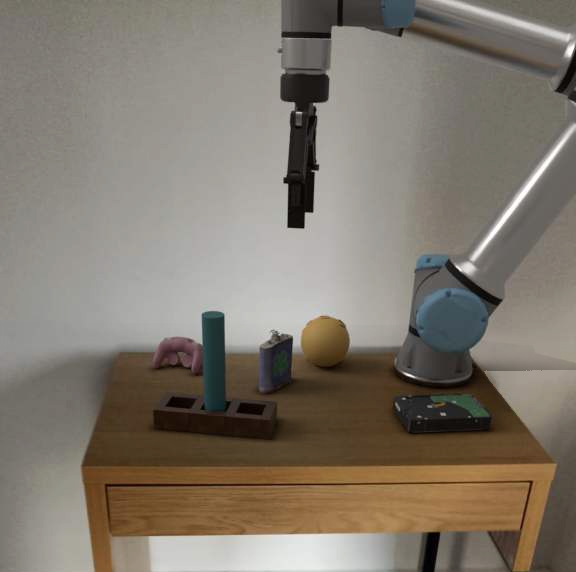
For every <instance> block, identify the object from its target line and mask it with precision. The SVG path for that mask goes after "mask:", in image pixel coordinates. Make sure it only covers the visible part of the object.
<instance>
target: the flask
mask: <svg viewBox="0 0 576 572" xmlns="http://www.w3.org/2000/svg"><path fill="white" fill-rule="evenodd" d="M269 334H271V336H270V339H268V340H266V341H264V342H263V343H261V344H260V345H259V374H258V375H259V376H258V391H259V392H258V393H260V394H265V395H266V394H268V393H273V392H274V391H275V390H278V389H280V388H281V387H282V386H284V385H285V384H288V383H291V382H292V365H293V348H294V347H293V346H294V336H293V335H292V334H288V333H281V334H280V332H279V331H278V330H276V329H271V330H270V331H269Z"/></svg>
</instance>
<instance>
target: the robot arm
mask: <svg viewBox="0 0 576 572" xmlns="http://www.w3.org/2000/svg"><path fill="white" fill-rule="evenodd" d="M280 1H281V2H280V14H281V15H280V32H281V33H280V38H281V42H280V44H281V45H278V46H277V48H276V52H277V54H281V56H280V68H281V70H284V73H281V76H280V78H279V79H280V80H279V81H280V82H279V85H280V87H279V98H280V100H281V101H282V102H285V103H294V110H291V111H290V113H289V114H290V115H289V127H290V130H289V140H288V141H289V142H288V155H287V156H288V157H287V158H288V159H287V167H286V175H285V176H283V180H282V182H283V184H284V185H287V223H286V224H287V225H286V228H287V229H301V230H305V227H306V225H305V224H306V213H308V214H313V213H314V209H315V208H314V207H315V181H316V178H315V177H316V172H319V171H320V164H319V163H317V162H318V160H317V140H316V139H317V128H318V127H317V126H318V115H317V110H318V109H317V106H316V105H314V104H324V103H327V102H328V101H329V99H330V76H329V74H327V71H330V69H331V65H332V45H333V44H332V42H333V41H332V40H333V39H332V29H333V27H339V28H341V27H342V28H343V27H352V28H364V29H366V30H369V31H374V32H380V33H383V34H387V35H390V36H393V37H398V38H401V39H405V40H408V41H411V42H414V43H418V44H421V45H425V46H428V47H431V48H435V49H438V50H440V51H443V52H447V53H451V54H454V55H457V56H460V57H464V58H468V59H471V60H474V61H477V62H481V63H484V64H487V65H491V66H494V67H497V68H500V69H504V70H507V71H510V72H513V73H517V74H520V75H523V76H527V77H530V78H533V79H537V80H540V81H544V82H546V83H547V85H548V87H549V90H550V91H551V92H554V93H558V94H561V95H563V96H566V97H567V98H566V99H565V102H564V106H565V115H564V118H563V120H562V121H561V123H560V124H559V125H558V126H557V128H556V129H555V130H554V132H553V133H552V134H551V136H550V137H549V138H548V140H547V141H546V143H545V144H544V145H543V146H542V148H541V150H539V152H538V153H537V154H536V156H535V157H534V159H533V160H532V161H531V163H530V164H529V165H528V167H527V168H526V169H525V170H524V172H523V173H522V175H521V176H520V178H519V179H518V180H517V182H516V183H515V184H514V185H513V187H512V188H511V190H510V191H509V192H508V194H507V195H506V196H505V197H504V199H503V200H502V202H501V203H500V204H499V206H498V207H497V208H496V209H495V211H494V212H493V214H491V216H490V218H489V219H488V220H487V221H486V223H485V224H484V226H483V227H482V228H481V229H480V231H479V232H478V234H477V235H476V236H475V237H474V238H473V240H472V242H471V243H470V244H469V245H468V247H467V248H466V250H465V251H463V252H462V253H457V254H447V253H446V254H445V253H427V254H422V255H420V256H419V257H418V258H417V260H416V263H415V268H414V270H413V273H414V279H413V280H414V281H413V287H412V295H411V296H412V297H411V303H410V311H409V321H408V330H407V334H406V337H405V339H404V341H403V344H402V346H401V347H400V350H399V352H398V354H397V355H396V356H395V358H394V361H393V363H394V373H395V375H397V377H398V378H400V379H402V380H403V381H405V382H408V383H411V384H414V385H418V386H421V387H427V388H428V387H430V388H453V387H459V386H462V385H464V384H467V383H468V382H469V381H470V380H471V379H472V375H473V369H474V370H477V369H478V365H476V364H474V363H473V362H472V356H471V349H473V348H474V347H476V346H477V345H478V343H479V342H481V340H482V339H483V338H484V336H485V334H486V332H487V328H488V326H489V320H490V317H491V316H492V315H493V313H494V312H495V311H496V310H497V308H498V307H499V306H500V304H501V303H502V302H503V301H504V299H505V298H506V288H505V287H506V283H507V282H508V281H509V279H510V278H511V277H512V276H513V274H514V273H515V272H516V270H517V269H518V268H519V266H521V264H522V263H523V261H524V260H525V259H526V258H527V256H528V255H530V252H532V250H533V249H534V247H536V245H537V244H538V243H539V241H540V240H541V239H542V238H543V236H544V235H545V234H546V233H547V231H548V230H549V229H550V228H551V227H552V225H553V224H554V223H555V221H556V220H557V219H558V218H559V216H560V215H561V214H562V212H563V211H564V210H565V209H566V208H567V206H568V205H569V204H570V202H571V201H572V200H573V199H574V197H575V196H576V23H574V24H573V25H571V26H570V27H564V26H561V25H558V24H555V23H551V22H548V21H545V20H541V19H538V18H535V17H532V16H528V15H525V14H522V13H518V12H515V11H512V10H508V9H505V8H501V7H498V6H496V5H491V4H489V3H485V2H481V1H479V0H280ZM315 171H316V172H315Z"/></svg>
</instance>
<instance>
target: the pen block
mask: <svg viewBox="0 0 576 572" xmlns="http://www.w3.org/2000/svg"><path fill="white" fill-rule="evenodd" d="M152 416H153V417H152V418H153V428H154V429H155V430H166V431H176V432H187V433H197V434H198V433H199V434H210V435H221V436H229V437H230V436H231V437H240V438H252V439H263V440H270V439H271V437H272V433H273V431H274V428H275V426H276V423H277V421H278V420H277V419H278V401H275V400H263V399H251V398H240V397H239V398H238V397H227V396H226V412H219V411H207V410H205V408H204V394H194V393H193V394H192V393H183V392H170V391H165V393H164V394H163V395H162V397H161V398H160V399H159V400H158V402H157V403H156V405H155V406H154V408H153V409H152Z"/></svg>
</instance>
